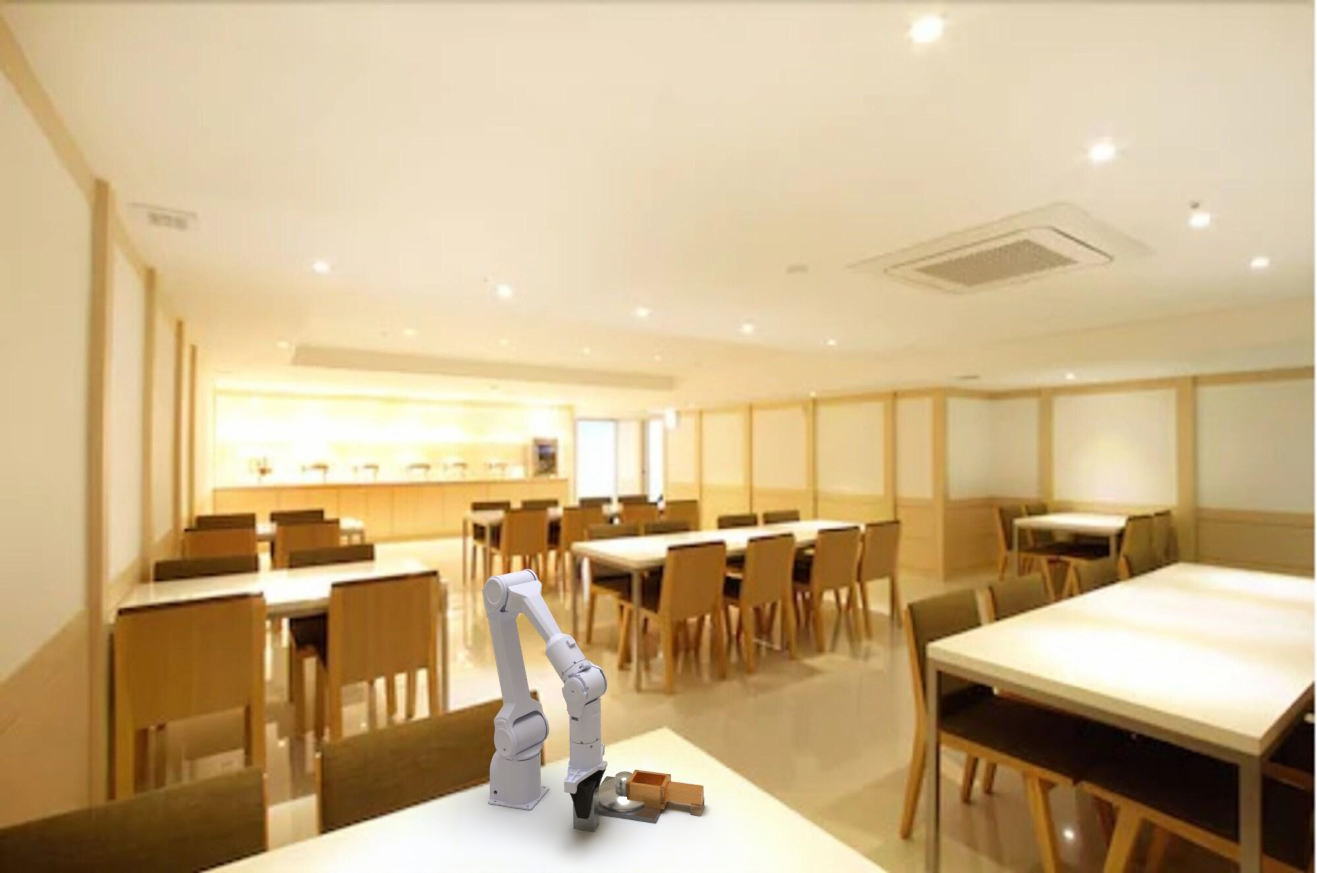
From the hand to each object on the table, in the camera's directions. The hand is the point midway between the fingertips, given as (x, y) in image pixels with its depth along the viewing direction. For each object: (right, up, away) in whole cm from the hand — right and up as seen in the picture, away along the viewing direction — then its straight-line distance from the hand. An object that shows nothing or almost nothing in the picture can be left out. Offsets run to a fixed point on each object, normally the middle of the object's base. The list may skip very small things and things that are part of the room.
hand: (586, 812), depth 112 cm
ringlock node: (+11, -3, +7) cm, 13 cm away
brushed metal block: (0, -2, 0) cm, 2 cm away
